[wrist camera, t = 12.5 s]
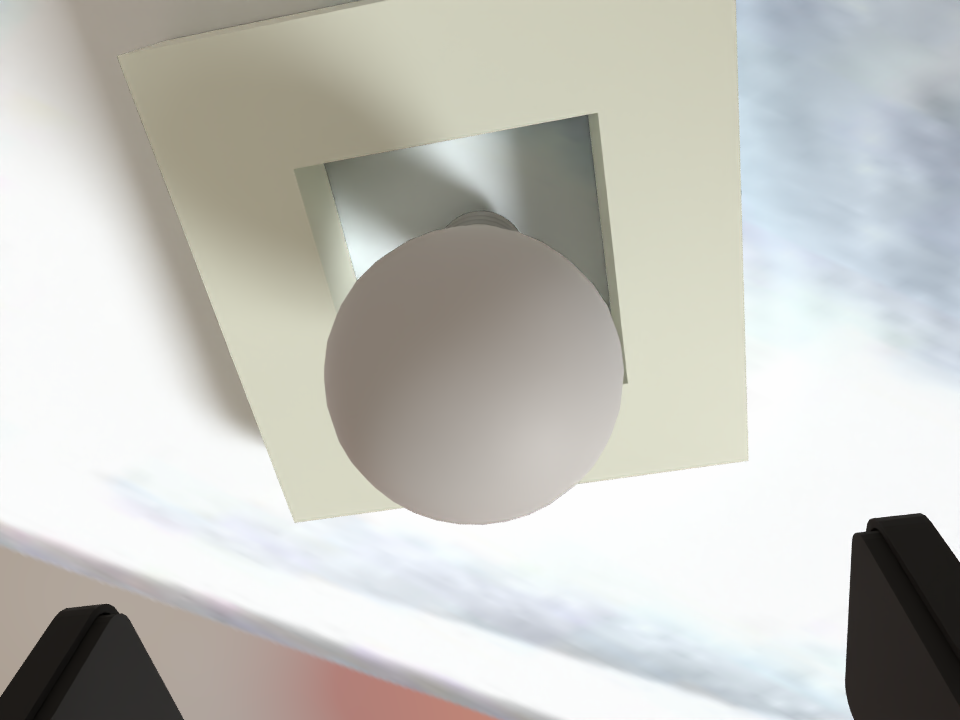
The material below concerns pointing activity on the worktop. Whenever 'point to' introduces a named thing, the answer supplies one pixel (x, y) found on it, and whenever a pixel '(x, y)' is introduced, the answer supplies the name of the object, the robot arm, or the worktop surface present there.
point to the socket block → (446, 116)
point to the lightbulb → (473, 373)
